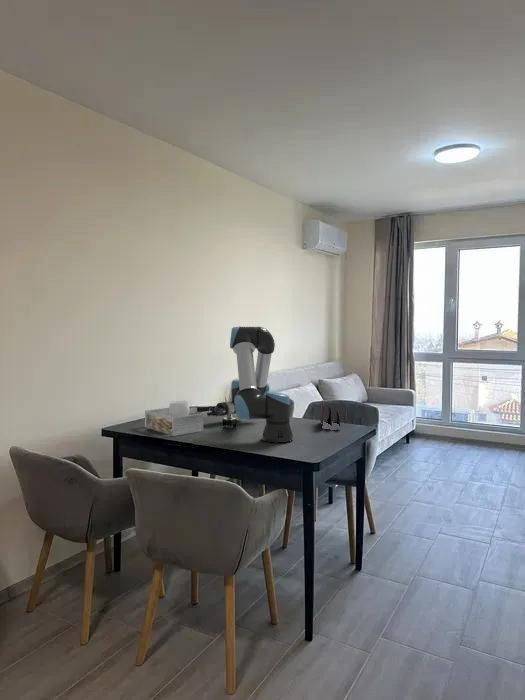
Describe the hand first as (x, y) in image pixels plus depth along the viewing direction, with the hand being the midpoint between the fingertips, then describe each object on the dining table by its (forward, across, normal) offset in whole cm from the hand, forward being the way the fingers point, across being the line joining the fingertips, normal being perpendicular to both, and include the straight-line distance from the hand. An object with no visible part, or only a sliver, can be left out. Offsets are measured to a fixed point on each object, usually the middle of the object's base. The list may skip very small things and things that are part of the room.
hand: (194, 413), depth 272 cm
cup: (+10, 0, -8) cm, 13 cm away
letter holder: (-59, -46, -8) cm, 75 cm away
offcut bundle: (+19, 0, -7) cm, 20 cm away
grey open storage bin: (+13, 0, -8) cm, 15 cm away
